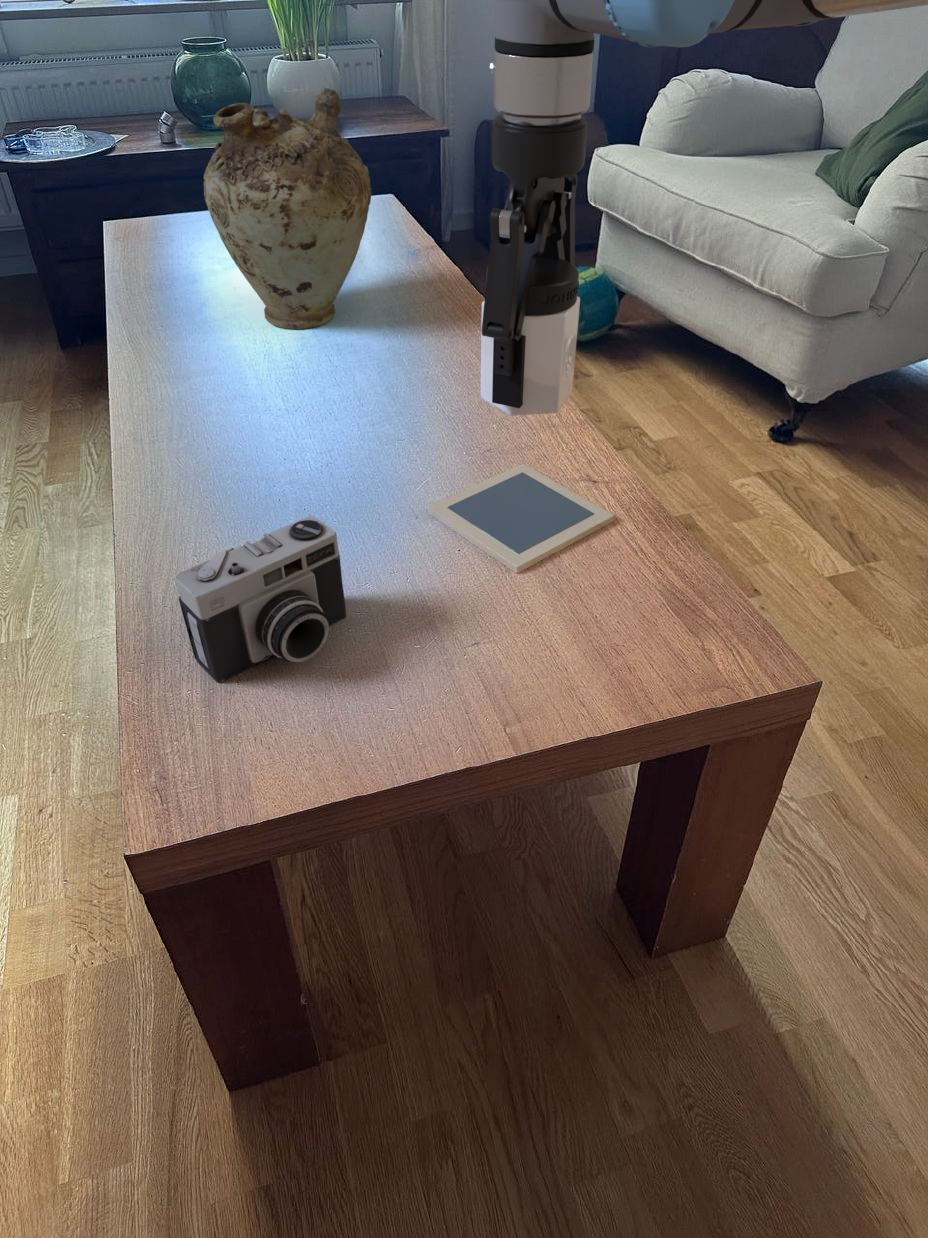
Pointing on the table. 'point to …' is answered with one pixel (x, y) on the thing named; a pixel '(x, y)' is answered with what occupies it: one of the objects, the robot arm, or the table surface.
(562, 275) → the jar
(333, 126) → the vase
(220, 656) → the camera
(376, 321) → the table surface
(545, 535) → the tile
